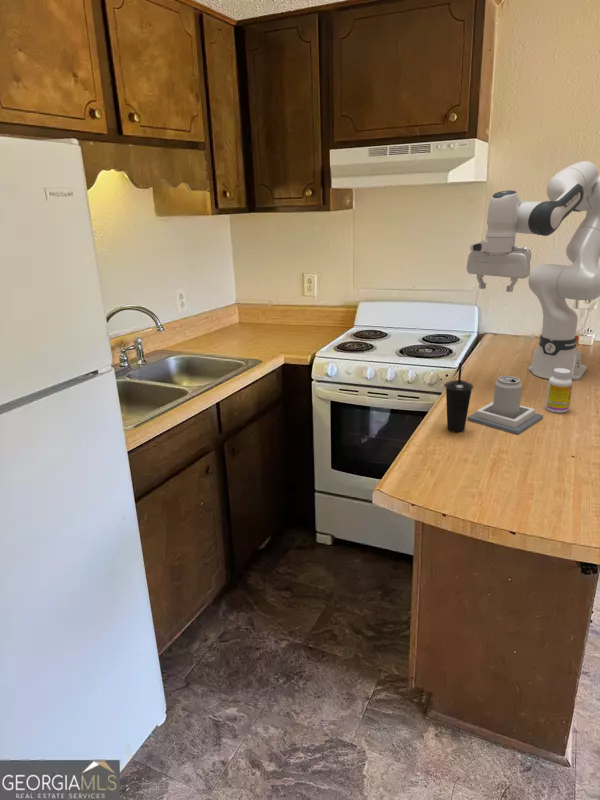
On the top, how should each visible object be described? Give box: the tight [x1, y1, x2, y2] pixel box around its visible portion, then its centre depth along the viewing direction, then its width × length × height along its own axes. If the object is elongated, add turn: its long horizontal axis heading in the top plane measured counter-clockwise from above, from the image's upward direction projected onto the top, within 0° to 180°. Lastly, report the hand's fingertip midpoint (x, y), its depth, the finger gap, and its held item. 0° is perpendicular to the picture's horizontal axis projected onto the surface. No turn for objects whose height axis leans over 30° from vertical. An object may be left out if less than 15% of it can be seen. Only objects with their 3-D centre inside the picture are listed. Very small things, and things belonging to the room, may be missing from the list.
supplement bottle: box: [545, 368, 573, 414], centre depth 175 cm, size 7×7×13 cm
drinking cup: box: [444, 362, 474, 433], centre depth 163 cm, size 8×8×20 cm
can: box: [492, 375, 523, 419], centre depth 169 cm, size 8×8×12 cm
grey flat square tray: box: [466, 401, 544, 436], centre depth 171 cm, size 16×16×3 cm
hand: (495, 290), depth 184 cm, fingers open, 8 cm apart
